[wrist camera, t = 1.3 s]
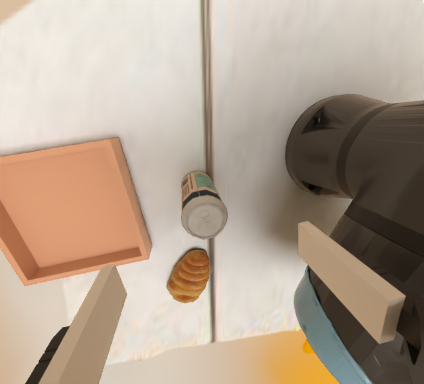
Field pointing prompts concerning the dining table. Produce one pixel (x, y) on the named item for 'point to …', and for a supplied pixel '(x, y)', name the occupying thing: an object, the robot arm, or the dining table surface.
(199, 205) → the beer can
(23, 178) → the terracotta dish
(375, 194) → the robot arm
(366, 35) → the dining table surface
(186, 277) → the pastry
